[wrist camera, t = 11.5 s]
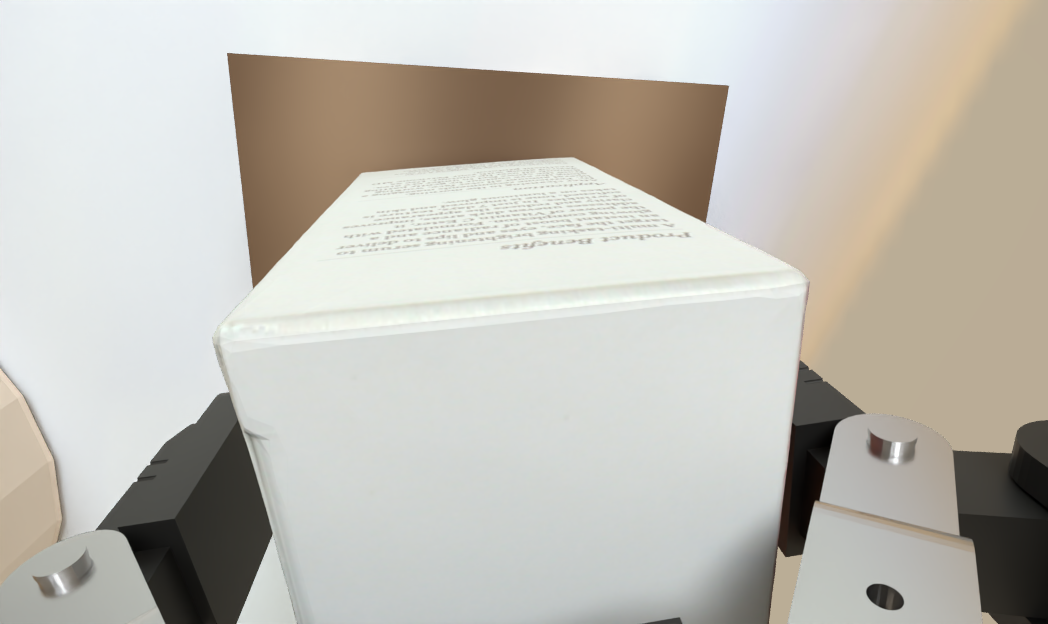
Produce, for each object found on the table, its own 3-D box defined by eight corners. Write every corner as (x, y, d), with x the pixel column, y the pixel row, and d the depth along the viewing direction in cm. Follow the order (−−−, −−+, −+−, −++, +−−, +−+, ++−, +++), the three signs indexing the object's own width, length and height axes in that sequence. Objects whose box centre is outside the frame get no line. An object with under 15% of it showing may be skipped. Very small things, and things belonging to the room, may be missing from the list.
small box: (584, 421, 18) (758, 814, 8) (397, 444, 17) (351, 898, 8) (579, 149, 15) (839, 269, 5) (354, 165, 15) (193, 333, 5)
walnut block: (313, 403, 22) (275, 487, 18) (286, 59, 18) (227, 53, 14) (622, 403, 24) (661, 481, 19) (664, 84, 20) (728, 85, 15)
